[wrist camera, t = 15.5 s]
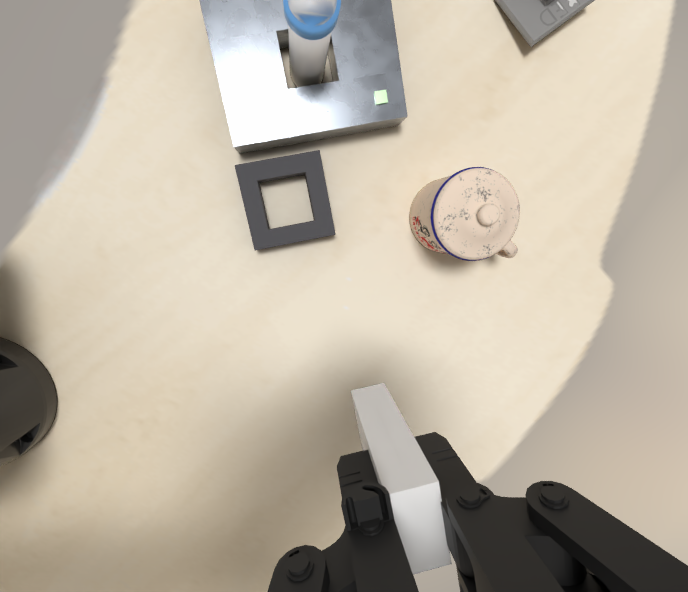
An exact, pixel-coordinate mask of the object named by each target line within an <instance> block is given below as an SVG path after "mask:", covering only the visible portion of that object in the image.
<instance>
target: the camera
mask: <svg viewBox="0 0 688 592" xmlns="http://www.w3.org/2000/svg"><path fill="white" fill-rule="evenodd" d="M495 1H496V2H497V3H498V5H499V6H500V7H501V9H502V10H503V11H504V13H505V14H506V15H507V17H508V18H509V19H510V21H511V22H512V23H513V24H514V26H515V27H516V28H517V30H518V31H519V32H520V34H521V35H522V36H523V38H524V39H525V40H526V42H527V43H528V44H529V45H530V47H532V46H533V45H535V44H536V43H537V42H539V41H540V40H541V39H543V38H544V37H546V36H547V35H548V34H550V33H551V32H552V31H554V30H555V29H556V28H558V27H559V26H560V25H562V24H563V23H565V22H566V21H567V20H569V19H570V18H571V17H573V16H574V15H575V14H577V13H578V12H579V11H581V10H582V9H584V8H585V7H586V6H588V5H589V4H590V3H592V2H593V1H594V0H495Z"/></svg>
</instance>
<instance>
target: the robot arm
mask: <svg viewBox="0 0 688 592" xmlns="http://www.w3.org/2000/svg"><path fill="white" fill-rule="evenodd" d="M351 394H352V399H353V404H354V409H355V414H356V419H357V425H358V430H359V435H360V440H361V445H362V448H363V451H360V452H356V453H352V454H348V455H344V456H341V457H340V460H339V462H338V465H337V471H338V477H339V482H340V488H341V494H342V504H341V506H342V511H343V515H344V520H345V524H346V526H345V529H344V532H343V533H342V535H341V537H340V538H339V539H338V540H337V541H336V542H335V543H334V544H332V545H331V546H329V547H328V548H326V549H324V550H323V551H321V550H319V549H318V548H316V547H314V546H308V545H304V546H300V547H295V548H294V549H292V550H290V551H288V552H287V553H286V554H285V555H284V556H283V557H282V558H281V559H280V560H279V561H278V563H277V565H276V567H275V569H274V573H273V576H272V579H271V582H270V585H269V589H268V592H419V591H418V588H417V585H416V582H415V579H414V576H413V574H417V573H421V572H424V571H428V570H432V569H435V568H439V567H442V566H446V565H449V564H451V557H450V552H451V554H452V556H453V558H454V560H455V562H456V566H457V573H458V580H459V586H460V592H688V566H687V565H686V564H684V563H683V562H681V561H680V560H678V559H677V558H675V557H674V556H672V555H671V554H669V553H668V552H666V551H665V550H663V549H662V548H660V547H659V546H657V545H655V544H654V543H653V542H651V541H650V540H648V539H647V538H645V537H644V536H642V535H641V534H639V533H638V532H636V531H635V530H633V529H632V528H630V527H629V526H627V525H626V524H624V523H623V522H621V521H620V520H618V519H617V518H615V517H614V516H612V515H611V514H609V513H608V512H606V511H605V510H603V509H602V508H600V507H599V506H597V505H596V504H594V503H593V502H591V501H590V500H588V499H587V498H585V497H584V496H582V495H581V494H579V493H578V492H576V491H575V490H573V489H572V488H569V487H568V486H566V485H563V484H561V483H557V482H553V481H540V482H537V483H534V484H532V485H531V486H530V487H529V488H527V492H526V498H511V497H510V498H509V497H500V496H496V495H494V494H493V492H492V491H490V490H489V489H488V488H487V487H486V486H483V485H481V484H479V483H476V481H475V480H474V478H473V477H472V475H471V474H470V472H469V471H468V470H467V468H466V467H465V465H464V464H463V462H462V461H461V459H460V458H459V457H458V456H457V454H456V452H455V451H454V449H452V447H451V445H450V444H449V442H448V441H447V439H446V438H444V437H443V436H441V435H439V434H438V433H436V432H433V433H429V434H425V435H421V436H417V437H414V436H413V434H412V432H411V430H410V428H409V427H408V425H407V423H406V421H405V419H404V418H403V416H402V414H401V412H400V410H399V409H398V407H397V405H396V403H395V401H394V399H393V398H392V396H391V394H390V392H389V390H388V389H387V387H386V385H385V383H381V384H376V385H372V386H368V387H364V388H359V389H355V390H351ZM56 407H57V397H56V391H55V387H54V384H53V382H52V379H51V377H50V375H49V373H48V372H47V370H46V369H45V367H44V366H43V365H42V364H41V363H40V361H39V360H38V359H37V358H36V357H34V356H33V355H32V354H31V353H30V352H28V351H27V350H26V349H24V348H22V347H21V346H19V345H17V344H15V343H13V342H11V341H9V340H6V339H3V338H0V466H2V465H4V464H7V463H9V462H11V461H13V460H15V459H17V458H18V457H20V456H22V455H23V454H24V453H26V452H27V451H28V450H29V449H30V448H32V447H33V446H34V445H35V444H36V443H37V442H39V441H40V440H41V439H42V438H43V437H44V436H45V434H46V433H47V432H48V430H49V429H50V427H51V425H52V423H53V420H54V417H55V414H56Z"/></svg>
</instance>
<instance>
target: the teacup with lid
mask: <svg viewBox="0 0 688 592" xmlns="http://www.w3.org/2000/svg"><path fill="white" fill-rule="evenodd" d="M519 215H520V207H519V201H518V197H517V194H516V192H515V190H514V188H513V186H512V185H511V183H510V182H509V181H508V180H507V179H506V178H505V177H504V176H502V175H501V174H499V173H498V172H496V171H494V170H491V169H488V168H484V167H472V168H467V169H464V170H461V171H459V172H457V173H455V174H453V175H452V176H449V177H445V178H442V179H438V180H435V181H433V182H431V183H429V184H427V185H426V186H424V187H423V188H422V189H421V190H420V191H419V192H418V194H417V195H416V197H415V198H414V200H413V203H412V206H411V210H410V225H411V229H412V231H413V234H414V236H415V237H416V239H417V240H418V241H419V242H420V243H421V244H422V245H423V246H425V247H426V248H428V249H430V250H432V251H436V252H440V253H445V254H450V255H452V256H454V257H456V258H458V259H462V260H467V261H477V260H482V259H486V258H488V257H490V256H493V255H494V254H498V255H500V256H503V257H506V258H512V257H514V256H515V254H516V253H517V251H518V249H517V247H516V245H515V244H514V243H513V242H512V241H511V238H512V237H513V235H514V233H515V231H516V228H517V225H518V221H519Z"/></svg>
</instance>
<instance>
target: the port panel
mask: <svg viewBox="0 0 688 592" xmlns="http://www.w3.org/2000/svg"><path fill="white" fill-rule="evenodd" d="M199 1H200V5H201V9H202V13H203V18H204V22H205V26H206V30H207V35H208V39H209V43H210V48H211V52H212V56H213V60H214V65H215V69H216V73H217V77H218V82H219V86H220V90H221V94H222V99H223V103H224V107H225V112H226V116H227V120H228V124H229V129H230V133H231V137H232V141H233V146H234V148H235V149H236V150H237V151H238V152H239V153H245V152H251V151H257V150H262V149H268V148H274V147H279V146H285V145H291V144H297V143H302V142H308V141H314V140H319V139H325V138H331V137H337V136H342V135H348V134H354V133H359V132H365V131H371V130H377V129H382V128H388V127H394V126H398V125H399V124H400V123H401V122H402V121H403V120H404V119H405V118H406V117H407V110H406V103H405V96H404V89H403V82H402V75H401V68H400V60H399V53H398V46H397V39H396V32H395V25H394V18H393V11H392V4H391V0H341V6H340V11H339V16H338V20H337V23H336V26H335V27H334V29H333V30H332V32H331V37H330V42H329V48H328V56H329V62H330V67H331V73H332V79H333V82H328V83H321V84H315V85H309V86H303V87H297V88H291V89H288V88H287V83H286V78H285V73H284V68H283V63H282V58H281V53H280V49H281V48H287V47H289V33H288V23H287V21H286V18H285V15H284V7H283V0H199Z"/></svg>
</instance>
